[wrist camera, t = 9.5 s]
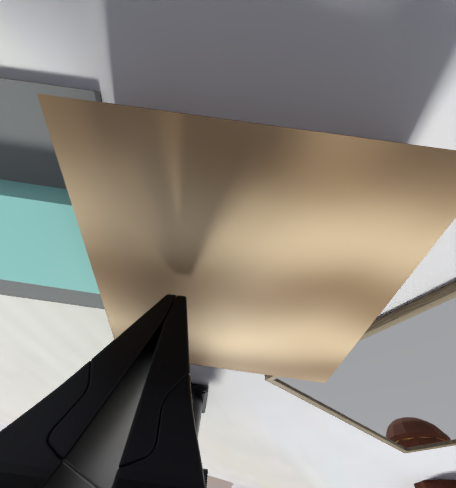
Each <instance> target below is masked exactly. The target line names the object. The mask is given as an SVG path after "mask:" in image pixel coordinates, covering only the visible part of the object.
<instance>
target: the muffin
mask: <svg viewBox="0 0 456 488" xmlns="http://www.w3.org/2000/svg"><path fill="white" fill-rule="evenodd" d="M414 486H415V488H456V480H443V479H437V480H426V481H421V482H419V483H415V484H414Z"/></svg>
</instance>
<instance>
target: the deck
mask: <svg viewBox="0 0 456 488" xmlns="http://www.w3.org/2000/svg"><path fill="white" fill-rule="evenodd" d="M37 96H38V99H39V102H40V105H41V108H42V111H43V115H44V118H45V121H46V124H47V127H48V130H49V134H50V137H51V140H52V143H53V146H54V150H55V153H56V156H57V159H58V162H59V165H60V169H61V172H62V175H63V178H64V181H65V184H66V188H67V191H68V194H69V197H70V200H71V203H72V207H73V210H74V213H75V216H76V219H77V222H78V226H79V229H80V232H81V235H82V238H83V241H84V245H85V248H86V251H87V254H88V257H89V260H90V264H91V267H92V270H93V273H94V276H95V279H96V283H97V286H98V289H99V292H100V295H101V298H102V302H103V305H104V308H105V311H106V314H107V317H108V321H109V324H110V327H111V330H112V333H113V336H114V340H115V339H116V338H117V337H118V336H119V335H120V334H122V333H123V332H124V331H125V330H126V329H127V328H128V327H130V326H131V325H132V324H133V323H134V322H135V321H137V320H138V319H139V318H140V317H141V316H142V315H144V314H145V313H146V312H147V311H148V310H149V309H150V308H152V307H153V306H154V305H155V304H156V303H157V302H159V301H160V300H161V299H162V298H163V297H164V296H166V295H167V294H173V295H176V296H178V295H180V296H186V298H187V318H188V339H189V360H190V364H194V365H201V366H208V367H215V368H223V369H230V370H237V371H244V372H251V373H258V374H265V375H272V376H279V377H286V378H293V379H300V380H307V381H314V382H321V383H326V381H327V380H328V379H329V378H330V376H331V375H332V374H333V373H334V371H335V370H336V369H337V368H338V366H339V365H340V364H341V362H342V361H343V360H344V359H345V357H346V356H347V355H348V354H349V352H350V351H351V350H352V348H353V347H354V346H355V345H356V343H357V342H358V341H359V340H360V338H361V337H362V336H363V334H364V333H365V332H366V331H367V329H368V328H369V327H370V326H371V324H372V323H373V322H374V321H375V319H376V318H377V317H378V315H379V314H380V313H381V312H382V310H383V309H384V308H385V307H386V305H387V304H388V303H389V301H390V300H391V299H392V298H393V296H394V295H395V294H396V293H397V291H398V290H399V289H400V287H401V286H402V285H403V284H404V282H405V281H406V280H407V279H408V277H409V276H410V275H411V274H412V272H413V271H414V270H415V268H416V267H417V266H418V265H419V263H420V262H421V261H422V260H423V258H424V257H425V256H426V254H427V253H428V252H429V251H430V249H431V248H432V247H433V246H434V244H435V243H436V242H437V240H438V239H439V238H440V237H441V235H442V234H443V233H444V232H445V230H446V229H447V228H448V227H449V225H450V224H451V223H452V221H453V220H454V219H455V218H456V151H455V150H448V149H441V148H433V147H426V146H419V145H411V144H404V143H397V142H389V141H382V140H375V139H367V138H360V137H353V136H345V135H338V134H331V133H323V132H316V131H309V130H301V129H294V128H287V127H279V126H272V125H265V124H257V123H250V122H243V121H235V120H228V119H221V118H213V117H206V116H199V115H191V114H184V113H177V112H169V111H162V110H155V109H147V108H140V107H133V106H125V105H118V104H111V103H103V102H96V101H89V100H81V99H74V98H67V97H59V96H52V95H45V94H37Z"/></svg>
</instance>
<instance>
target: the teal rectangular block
mask: <svg viewBox="0 0 456 488" xmlns="http://www.w3.org/2000/svg"><path fill="white" fill-rule="evenodd" d="M0 279H2V280H9V281H15V282H22V283H29V284H36V285H42V286H49V287H56V288H62V289H69V290H76V291H83V292H89V293H96V294H100V292H99V289H98V286H97V283H96V279H95V276H94V273H93V270H92V267H91V264H90V260H89V257H88V254H87V251H86V248H85V245H84V241H83V238H82V235H81V232H80V229H79V226H78V222H77V219H76V216H75V213H74V210H73V207H72V203H71V200H70V197H69V194H68V191H67V189H62V188H55V187H48V186H42V185H35V184H28V183H22V182H15V181H8V180H2V179H0Z"/></svg>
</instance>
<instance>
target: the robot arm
mask: <svg viewBox="0 0 456 488" xmlns="http://www.w3.org/2000/svg"><path fill="white" fill-rule="evenodd" d="M207 394H208V388H207V387H204V386H197V385H191V378H190V360H189V339H188V318H187V298H186V296H180V295H178V296H176V295H173V294H167V295H166V296H164V297H163V298H162V299H161V300H160V301H159V302H157V303H156V304H155V305H154V306H153V307H152V308H150V309H149V310H148V311H147V312H146V313H145V314H144V315H142V316H141V317H140V318H139V319H138V320H137V321H135V322H134V323H133V324H132V325H131V326H130V327H128V328H127V329H126V330H125V331H124V332H123V333H122V334H120V335H119V336H118V337H117V338H116V339H115V340H113V341H112V342H111V343H110V344H109V345H108V346H106V347H105V348H104V349H103V350H102V351H101V352H100V353H98V354H97V355H96V356H95V357H94V358H93V359H92V360H91V361H89V362H88V363H87V364H86V365H84V366H83V367H82V368H81V369H80V370H79V371H77V372H76V373H75V374H74V375H73V376H71V377H70V378H69V379H68V380H67V381H65V382H64V383H63V384H62V385H61V386H59V387H58V388H57V389H55V390H54V391H53V392H52V393H50V394H49V395H48V396H46V397H45V398H44V399H43V400H41V401H40V402H39V403H37V404H36V405H35V406H33V407H32V408H31V409H29V410H28V411H27V412H25V413H24V414H23V415H21V416H20V417H19V418H17V419H16V420H15V421H13V422H12V423H11V424H9V425H8V426H7V427H6V428H4V429H3V430H2V431H0V488H206V486H207V485H206V484H207V474H208V469H203V468H202V462H201V456H200V451H199V445H198V432H199V426H200V419H201V413H205V408H206V401H207Z"/></svg>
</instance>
